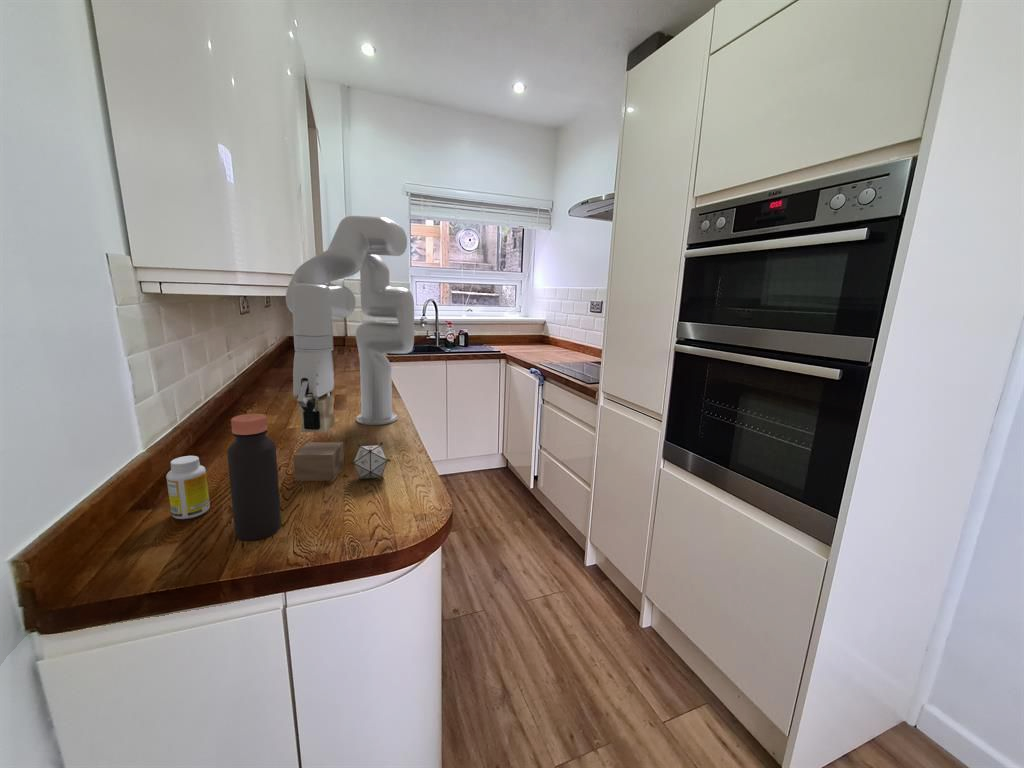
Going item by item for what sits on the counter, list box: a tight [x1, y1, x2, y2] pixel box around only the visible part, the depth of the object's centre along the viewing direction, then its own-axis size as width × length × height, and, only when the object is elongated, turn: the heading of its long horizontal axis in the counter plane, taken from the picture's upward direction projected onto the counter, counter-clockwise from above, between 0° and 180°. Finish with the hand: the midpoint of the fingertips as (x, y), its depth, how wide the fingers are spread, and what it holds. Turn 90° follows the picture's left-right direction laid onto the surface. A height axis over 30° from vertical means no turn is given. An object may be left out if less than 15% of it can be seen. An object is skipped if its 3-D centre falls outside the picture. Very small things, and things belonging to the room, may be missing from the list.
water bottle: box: [226, 413, 282, 542], centre depth 69 cm, size 7×7×20 cm
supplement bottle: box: [165, 455, 211, 520], centre depth 74 cm, size 6×6×10 cm
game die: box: [349, 441, 391, 483], centre depth 92 cm, size 9×8×10 cm
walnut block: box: [292, 441, 345, 482], centre depth 94 cm, size 8×8×6 cm
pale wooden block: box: [299, 394, 335, 434], centre depth 92 cm, size 5×5×7 cm
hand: (318, 424), depth 92 cm, fingers closed on pale wooden block, 5 cm apart
